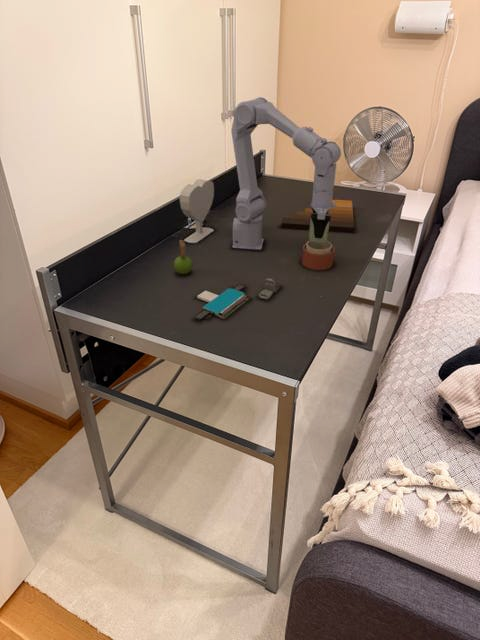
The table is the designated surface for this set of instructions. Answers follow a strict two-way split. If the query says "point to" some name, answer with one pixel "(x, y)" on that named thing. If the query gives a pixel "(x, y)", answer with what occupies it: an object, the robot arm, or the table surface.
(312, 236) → the sage cup
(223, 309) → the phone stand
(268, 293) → the strap clip
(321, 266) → the stack base cup
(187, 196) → the heart sculpture
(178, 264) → the green candy apple
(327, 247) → the stack top cup
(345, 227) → the pan flute
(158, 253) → the table surface
